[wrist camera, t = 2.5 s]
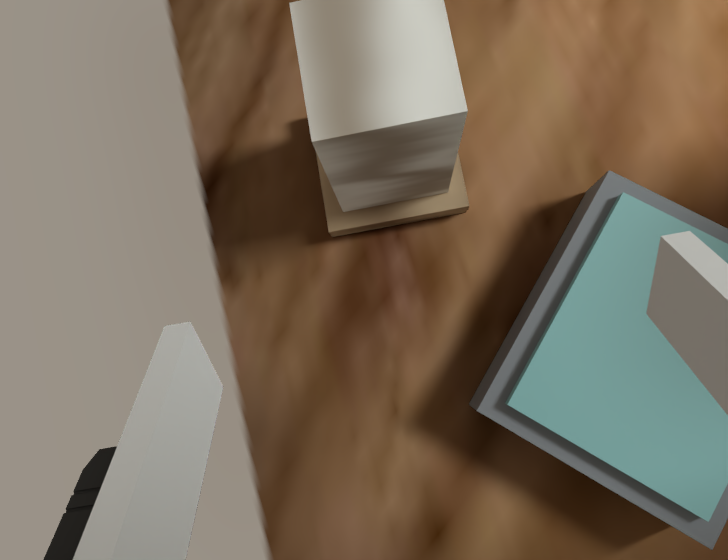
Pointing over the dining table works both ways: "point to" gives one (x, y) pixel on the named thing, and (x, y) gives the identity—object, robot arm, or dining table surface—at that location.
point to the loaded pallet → (382, 110)
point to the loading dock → (615, 365)
